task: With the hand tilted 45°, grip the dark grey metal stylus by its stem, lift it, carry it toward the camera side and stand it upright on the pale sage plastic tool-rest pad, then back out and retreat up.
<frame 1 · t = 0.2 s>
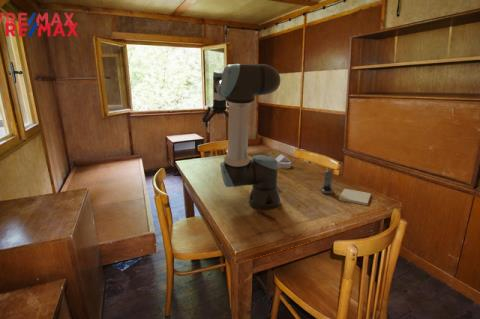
hand: (219, 131, 167), 28 cm above the table, tool tilted 20°, fingers open, 13 cm apart
wedge on round base: (283, 165, 189), on the table
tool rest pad: (355, 197, 136), on the table
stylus: (326, 192, 144), on the table
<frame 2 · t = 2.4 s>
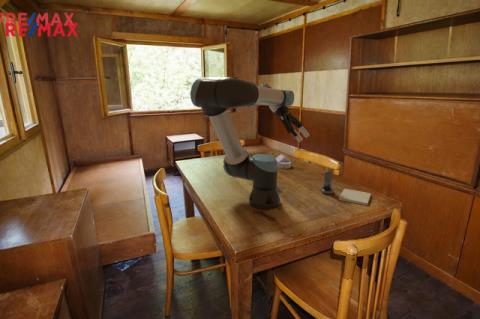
hand: (304, 138, 143), 27 cm above the table, tool tilted 45°, fingers open, 13 cm apart
nothing on the table moved.
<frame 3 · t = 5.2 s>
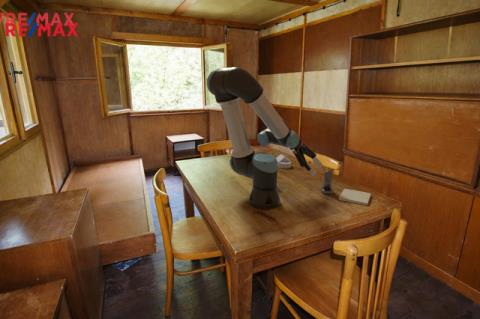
hand: (318, 170, 144), 11 cm above the table, tool tilted 45°, fingers open, 13 cm apart
nothing on the table moved.
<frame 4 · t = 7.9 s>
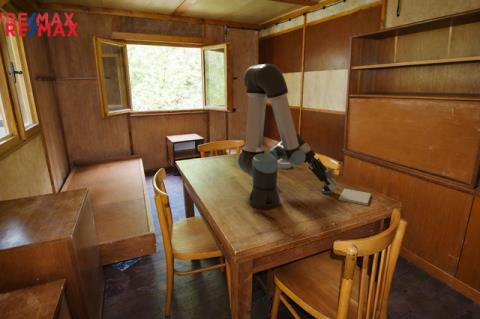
hand: (334, 187, 141), 3 cm above the table, tool tilted 45°, fingers closed on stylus, 4 cm apart
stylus: (326, 192, 144), on the table, touching gripper
everything else where it was.
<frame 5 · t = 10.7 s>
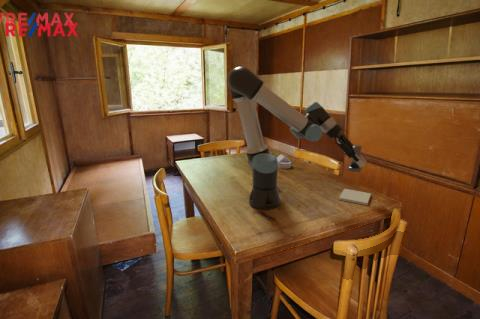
hand: (363, 164, 131), 18 cm above the table, tool tilted 45°, fingers closed on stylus, 4 cm apart
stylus: (354, 169, 134), point 14 cm above the table, touching gripper
everything else where it was.
when the fingers open (6 cm above the table, at t = 13.8 s): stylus drops 1 cm, resting on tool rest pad.
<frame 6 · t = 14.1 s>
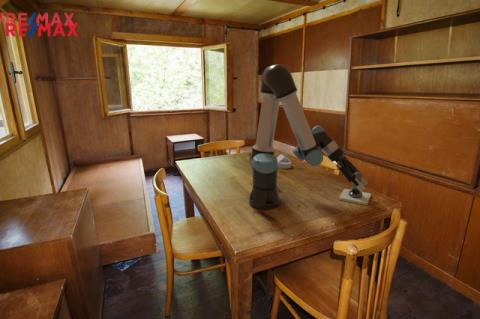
hand: (363, 187, 133), 6 cm above the table, tool tilted 45°, fingers open, 7 cm apart
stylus: (355, 195, 136), point 1 cm above the table, touching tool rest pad
everything else where it was.
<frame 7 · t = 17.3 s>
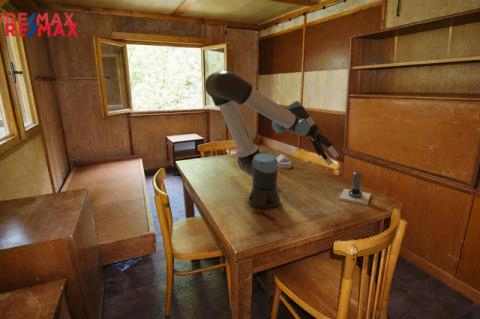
hand: (334, 160, 140), 17 cm above the table, tool tilted 40°, fingers open, 13 cm apart
nothing on the table moved.
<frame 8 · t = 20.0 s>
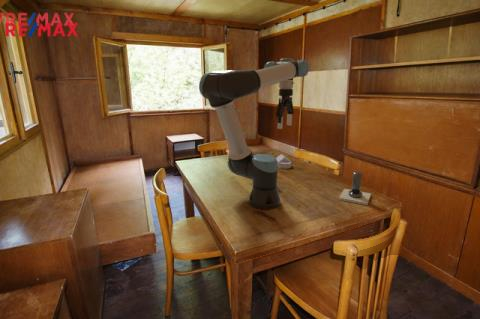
hand: (284, 127, 154), 32 cm above the table, tool pointing down, fingers open, 13 cm apart
nothing on the table moved.
at the end: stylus inside the target area on the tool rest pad (0.0 cm from its centre), point 1.2 cm above the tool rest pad's base; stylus tilted 0°; the gripper is holding nothing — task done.
